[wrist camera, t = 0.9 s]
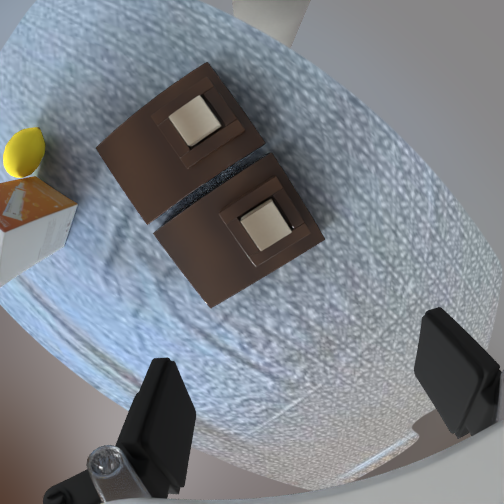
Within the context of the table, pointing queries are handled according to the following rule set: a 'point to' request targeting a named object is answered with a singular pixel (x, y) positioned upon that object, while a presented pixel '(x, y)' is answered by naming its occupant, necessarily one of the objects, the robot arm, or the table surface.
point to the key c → (195, 121)
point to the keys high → (237, 232)
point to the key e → (265, 225)
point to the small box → (31, 224)
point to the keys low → (176, 145)
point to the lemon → (24, 152)
